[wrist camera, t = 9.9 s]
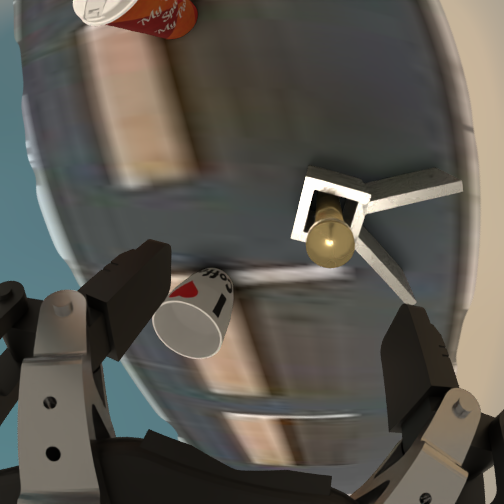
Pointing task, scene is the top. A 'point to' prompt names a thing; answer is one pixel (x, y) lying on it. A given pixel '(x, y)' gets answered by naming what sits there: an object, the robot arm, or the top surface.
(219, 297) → the cup
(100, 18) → the paper cup
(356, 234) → the grey finned stand
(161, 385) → the top surface
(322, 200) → the pin
